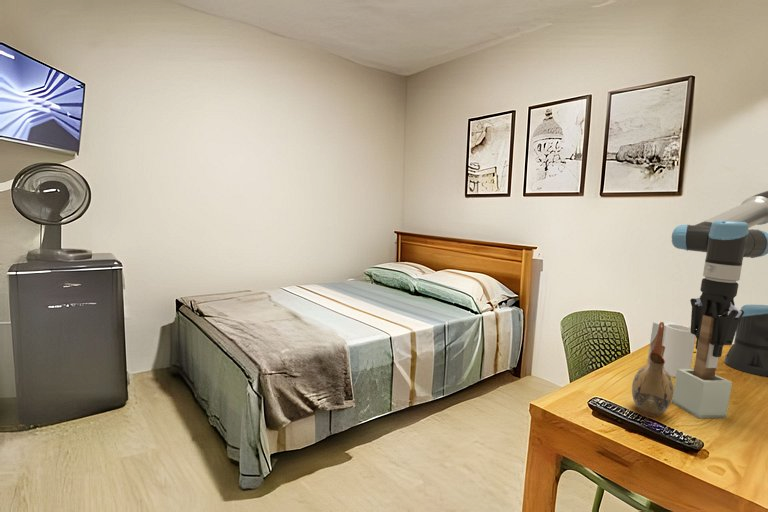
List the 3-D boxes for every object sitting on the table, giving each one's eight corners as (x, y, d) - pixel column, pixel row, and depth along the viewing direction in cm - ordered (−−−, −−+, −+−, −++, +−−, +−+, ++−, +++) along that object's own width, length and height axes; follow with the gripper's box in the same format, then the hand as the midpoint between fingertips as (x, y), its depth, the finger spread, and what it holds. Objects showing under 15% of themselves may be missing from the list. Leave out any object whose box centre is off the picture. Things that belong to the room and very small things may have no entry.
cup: (694, 379, 133) (702, 332, 131) (666, 376, 135) (673, 329, 133) (681, 370, 141) (688, 325, 139) (655, 366, 143) (662, 322, 141)
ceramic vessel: (669, 432, 100) (685, 333, 97) (626, 419, 105) (640, 325, 102) (668, 406, 114) (682, 319, 110) (631, 396, 119) (643, 312, 115)
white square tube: (697, 402, 117) (703, 368, 116) (725, 417, 109) (732, 382, 108) (671, 402, 116) (677, 369, 115) (698, 418, 108) (704, 382, 106)
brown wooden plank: (701, 399, 114) (716, 315, 110) (709, 403, 111) (724, 317, 108) (689, 399, 113) (703, 315, 110) (697, 403, 111) (711, 317, 107)
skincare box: (665, 360, 150) (671, 320, 148) (680, 366, 144) (686, 326, 142) (646, 360, 148) (652, 321, 146) (660, 367, 143) (666, 326, 141)
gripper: (682, 273, 115) (669, 354, 118) (736, 285, 99) (720, 377, 103) (705, 274, 116) (692, 354, 119) (763, 286, 101) (746, 377, 104)
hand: (705, 364), depth 111 cm, fingers closed on brown wooden plank, 2 cm apart
